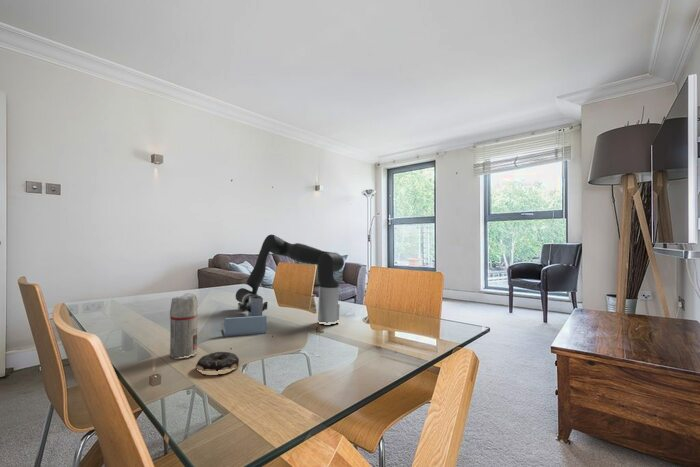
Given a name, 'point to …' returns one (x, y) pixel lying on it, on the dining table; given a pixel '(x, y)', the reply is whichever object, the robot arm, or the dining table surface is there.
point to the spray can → (183, 325)
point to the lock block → (255, 305)
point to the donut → (218, 361)
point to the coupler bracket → (245, 325)
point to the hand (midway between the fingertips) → (256, 309)
